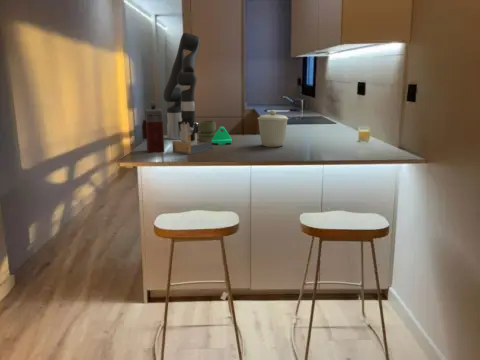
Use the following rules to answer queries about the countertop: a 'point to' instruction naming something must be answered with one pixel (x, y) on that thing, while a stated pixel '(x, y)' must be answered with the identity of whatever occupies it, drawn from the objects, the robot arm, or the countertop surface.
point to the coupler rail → (198, 148)
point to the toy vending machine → (153, 129)
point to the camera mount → (222, 137)
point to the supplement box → (187, 134)
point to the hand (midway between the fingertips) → (189, 140)
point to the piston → (206, 130)
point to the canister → (272, 129)
